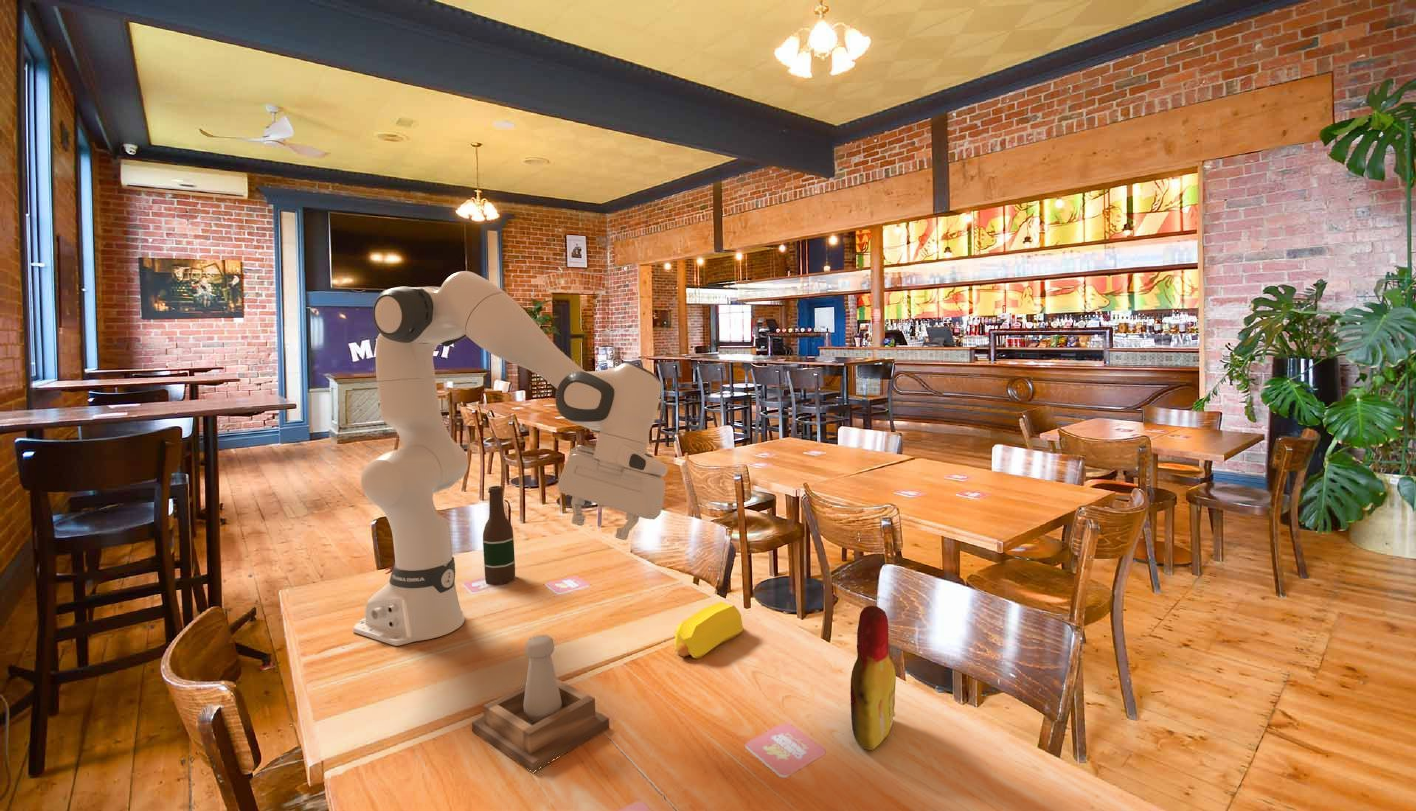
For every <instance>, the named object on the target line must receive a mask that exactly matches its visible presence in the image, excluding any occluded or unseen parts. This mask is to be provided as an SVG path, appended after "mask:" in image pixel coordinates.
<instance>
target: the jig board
mask: <svg viewBox="0 0 1416 811" xmlns="http://www.w3.org/2000/svg"><path fill="white" fill-rule="evenodd" d="M556 679H557V684H558V688H559V692H560V697H561V701H562V705H561V708H560V710H559V711H558V712H556V713H554V714H552V715H551V716H549V717H547V718H545V719H543V720H541V721H539V722H538V723H536V724H534V725H533V724H532V723H531V721H530V720H529V718H528V717H527V716H526V714H525V712H524V707H523V704H524V696H525V689H526V684H525V685H523V686H521V687H519V688H517V689H515V690H512V691H510V692H508V693H506V694H504V695H502V696H500V697H498V698H496V699H494V700H492V701H489V702H487V703H486V704H484V705H483V716H482V717H480V718H479V717H478V718H477V719H475V720H473V721H471V731H472V733H474V734H475V735H477V736H478V737H480V738H481V739H483V740H484V741H486V742H487V743H489V744H490V745H492V747H494V748H496V749H498V751H500V752H502V753H503V754H505V755H506V756H507V757H509V758H511V760H513V759H514V760H513V761H515V762H516V761H517V762H516V763H518V762H519V763H520V764H519V763H518V764H519V765H520V766H522V765H523V767H524V768H525V767H526V768H528V769H529V770H531V771H532V772H534V771H535V770H538V769H539V768H540V767H543V766H544V765H546V764H548V762H551V761H552V760H553V759H556V758H557V757H559V756H561V755H562V754H564V753H566V754H567V752H568V751H569V752H571V751H573V750H574V749H576V748H577V747H579V746H581V745H582V744H584V743H586V742H587V741H589V740H591V739H593V738H594V737H596V736H597V735H599V734H600V733H602V732H604V731H605V730H607V729H609V728H610V718H609V717H608V716H606V715H604V714H602V713H600V712H598V711H596V698H595V697H593V696H591V695H589V694H588V693H585V692H583V691H581V690H579V689H577V688H576V687H574V686H572V685H570V684H568V683H566V682H564V681H562V680H560V679H558V678H556ZM578 745H579V746H578ZM572 749H573V750H572ZM570 750H571V751H570ZM569 752H568V753H569ZM564 755H565V754H564ZM561 757H562V756H561ZM559 758H560V757H559ZM556 760H557V759H556ZM551 763H552V762H551ZM548 765H549V764H548ZM546 766H547V765H546ZM544 767H545V766H544ZM544 767H543V768H544ZM526 768H525V769H526ZM528 769H527V770H528ZM529 770H528V771H529ZM539 770H540V769H539ZM539 770H538V771H539ZM531 771H530V772H531ZM532 772H531V773H532ZM534 773H535V772H534Z"/></svg>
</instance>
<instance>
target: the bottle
mask: <svg viewBox="0 0 1416 811" xmlns="http://www.w3.org/2000/svg"><path fill="white" fill-rule="evenodd" d="M889 633H890V632H889V620H888V615H887V614H886V611H885V610H883V609H882V608H880V607H879V606H876V605H867V606H864V608H863V609H862V610H861V612H860V614H859V618H858V626H857V633H856V634H857V635H856V653H857V656H856V660H855V662H854V665H853V667H852V670H851V676H850V693H849V694H850V715H851V716H850V718H851V728H852V732H853V736H854V739H855V741H856V743H857V744H858V746H860V747H861V748H863V749H865V750H869V751H871V750H872V751H873V750H875V749H876V748H877V747H878V746H880V745H881V743H882V742H883V741H884V740H885V738H886V737H888V735H889V734H890V731H891V730H890V729H891V728H892V726H893V723H894V717H895V716H896V712H895V706H896V705H895V704H896V684H897V683H896V680H897V676H896V675H897V674H896V667H895V666H894V663H893V662H892V660H891V659H890V654H889V652H890V651H889V637H890V636H889Z"/></svg>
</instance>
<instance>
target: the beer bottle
mask: <svg viewBox="0 0 1416 811" xmlns="http://www.w3.org/2000/svg"><path fill="white" fill-rule="evenodd" d="M487 492H488V493H489V500H488V501H489V506H488V507H489V508H488V509H489V510H488V511H489V513H488V514H489V515H488V520H487V521H486V523H485V524H484V529H483V531H482V533H483V534H482V547H483V548H482V550H483V563H484V564H483V565H484V579H485V583H486V584H489V585H493V586H497V585H506V584H509V583H511V582H513V581H514V582H515V579H516V560H515V540H514V529H513V526H512V524H511V522H510V520H509V519H508V518H507V517H506V516H507V515H506V512H505V505H504V495H503V492H504V488H503V486H502V485H501V486H500V485H492V486H489V488H488V491H487Z"/></svg>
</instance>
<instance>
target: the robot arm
mask: <svg viewBox="0 0 1416 811" xmlns="http://www.w3.org/2000/svg"><path fill="white" fill-rule="evenodd" d="M372 308H373V309H372V319H373V322H374V325H375V328H376V329H377V331H378V333H379V334H378V336H377V337H376V345H375V376H376V384H377V393H378V398H379V400H378V401H379V407H380V415H381V418H382V420H383V421H384V423H385V424H386V425H387V426H390V427H391V428H392V429H394V431H395V432H396V433H397V435H398V436H399V440H400V441H401V442H400V443H401V445H402V448H400V449H399V448H398V449H395V450H391V451H387V452H385V453H383V454H381V455H379V456H378V457H376V458H374V459H372V460H371V461H369V462H368V463H367V464H366V465H365V466H364V468H363V470H362V472H361V475H360V476H361V477H360V484H361V488H362V492H363V494H364V496H365V497H366V498H367V499H368V500H369V502H370V503H372V504H374V505H375V506H377V507H379V508H380V509H381V511H382V512H383V513H384V515H385V517H386V519H387V521H388V523H389V527H390V530H391V533H392V542H393V553H394V560H395V561H394V564H393V565H391V566H390V567H387V568H385V569H384V571H386V572H385V573H384V574H385V575H388V574H390V573H391V574H390V576H389V577H390V578H389V581H388V582H387V583H386V584H385V585H384V586H383V587H381V588H380V589H379V590H378V591H376V592H375V593H374V594H373V595H372V596H371V597H370V598H369V599H368V601H366V602H367V603H366V604H365V612H364V613H365V614H364V616H365V617H364V618H362V619H360V620H359V621H358V622H357V623H355V625H354V626H353V629H352V631H353V633H355V634H358V635H361V636H364V637H368V638H370V639H372V640H373V639H374V640H376V641H379V642H383V643H385V644H388V645H392V646H395V647H396V646H402V645H407V644H411V643H413V642H418V641H425V640H430V639H431V640H433V639H434V638H435V639H436V638H439V637H441V636H445V635H448V634H450V633H452V632H454V631H456V630H457V629H459V628H461V626H462V625H463V624H464V623H465V617H464V614H463V613H462V612H463V611H462V609H461V605H460V601H459V597H458V592H457V587H456V582H455V579H456V562H455V557H454V556H453V549H452V534H451V525H450V522H449V520H448V519H447V518H445V517H444V516H442V515H440V514H439V513H438V511H437V509H436V506H435V504H434V495H435V494H438V493H441V492H443V491H445V490H448V489H450V488H452V487H453V486H454V485H455V484H457V483H458V482H459V481H460V480H462V479H463V478H464V477H465V476H466V474H467V471H468V467H469V459H468V456H467V452H466V451H465V450H464V449H463V447H462V446H461V445H459V444H458V443H457V442H456V441H455V440H454V439H453V438H452V437H451V434H450V432H449V431H448V428H447V426H446V424H445V422H444V419H443V415H442V411H441V407H440V401H439V394H438V387H437V379H436V372H435V365H434V364H435V363H434V353H435V350H436V348H437V347H439V346H440V345H442V346H444V347H445V348H447V347H451V346H452V345H453V344H455V343H458V342H460V341H463V340H464V339H467V338H469V340H471V341H472V342H473V343H474V344H475V345H477V346H479V347H480V348H481V349H483V350H484V351H485V352H488V353H489V354H491V355H493V356H495V357H497V358H499V359H501V360H503V361H506V362H509V363H511V364H514V365H516V366H519V367H521V368H523V369H526V370H528V371H531V372H532V373H534V374H536V375H537V376H540V377H542V378H543V379H544V380H545V381H547V382H548V383H549V384H551V385H552V386H553V387H554V388H555V389H556V392H555V398H554V400H555V406H556V409H557V411H558V413H559V414H560V415H561V416H562V417H563V418H564V419H566V420H567V421H568V422H570V423H571V424H575V425H578V426H581V427H583V428H586V429H588V430H591V431H592V432H594V433H595V434H598V437H597V440H596V444H595V447H589V446H586V445H582V444H578V445H577V446H574V447H573V448H572V449H570V451H569V453H568V457H567V461H566V462H565V464H564V467H563V469H562V471H561V475H560V477H559V479H558V483H557V489H558V492H559V493H561V494H563V495H567V496H570V497H572V498H571V501H570V504H571V508H572V509H571V510H572V513H573V516H572V519H571V524H572V525H575V526H576V525H577V526H583V525H584V524H585V521H586V515H585V514H584V515H583V508H582V506H584V505H585V503H586V501H587V502H590V503H592V504H593V503H594V504H597V505H601V506H603V507H607V508H610V509H614V510H616V511H619V512H623V513H626V515H625V520H627V521H626V522H625V524H623V526H622V527H617V529H616V533H615V536H614V537H615V538H616V539H619V540H622V541H627V540H628V537H629V534H630V531H631V530H632V529H633V528H634V527H635V526H636V525H637V523H638V522H639V520H640V518H642V519H647V520H656V519H658V517H659V516H660V515H661V512H662V509H663V505H664V499H665V493H666V481H665V480H664V477H666V475H667V474H668V470H669V468H668V465H667V464H665V463H664V462H663V461H662V460H660V459H658V458H657V457H656V456H654V455H652V454H651V453H650V452H648V451H647V449H648V446H649V442H650V440H649V436H650V431H651V428H652V426H653V425H654V423H655V421H656V416H657V413H658V408H659V402H660V398H661V391H662V390H661V389H662V387H661V386H662V385H661V384H662V383H661V381H660V379H659V378H658V376H657V375H656V374H655V373H654V372H652V371H650V370H648V369H646V368H645V367H642V366H640V365H638V364H635V363H632V362H623V363H621V364H619V365H617V366H615V367H612V368H611V367H610V368H607V369H603V370H595V371H594V370H592V371H586V370H585V369H584V368H583V367H581V366H580V365H579V364H577V363H576V362H575V361H574V360H573V359H571V358H570V357H569V356H568V355H566V353H564V352H563V351H562V350H560V348H559V347H557V345H556V344H555V343H554V342H553V341H552V340H551V339H550V337H549V336H548V335H547V334H546V333H545V332H544V331H543V329H541V328H540V326H539V325H538V324H537V322H536V321H535V320H534V319H533V318H532V317H531V316H530V314H529V313H527V311H526V310H525V309H524V308H523V307H522V306H521V305H520V304H519V303H518V302H517V301H516V300H515V299H514V298H512V297H511V296H510V295H509V294H508V293H507V292H506V291H504V290H503V289H501V288H500V287H499V286H497V285H496V284H495V283H493V282H491V281H490V280H488V279H486V278H484V277H483V276H480V275H479V274H477V273H475V272H472V271H469V270H464V271H463V270H462V271H457V272H455V273H453V274H451V275H450V276H448V277H447V278H446V279H445V280H444V281H443V283H442V284H441V286H417V287H415V286H414V287H412V286H397V287H392V288H388V289H386V290H383V291H382V292H381V293H379V295H378V296H377V297H376V299H375V301H374V304H373V307H372Z"/></svg>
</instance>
